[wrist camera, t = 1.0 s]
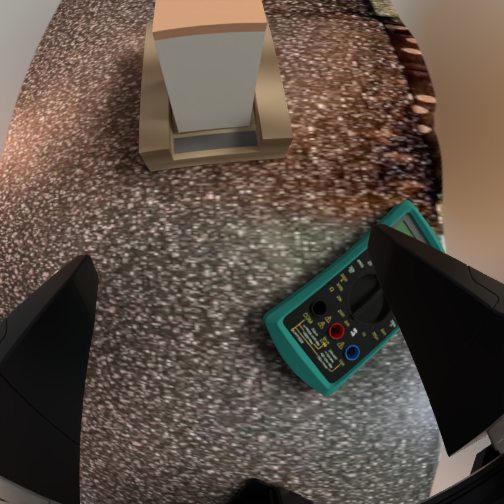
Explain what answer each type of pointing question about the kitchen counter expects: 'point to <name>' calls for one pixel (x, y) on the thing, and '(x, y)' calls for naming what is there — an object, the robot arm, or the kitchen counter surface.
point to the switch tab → (210, 59)
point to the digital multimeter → (341, 311)
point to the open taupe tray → (212, 140)
